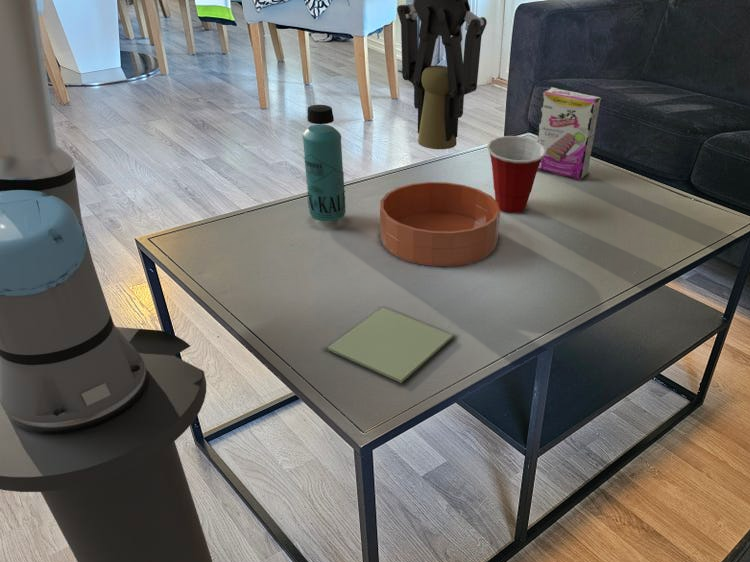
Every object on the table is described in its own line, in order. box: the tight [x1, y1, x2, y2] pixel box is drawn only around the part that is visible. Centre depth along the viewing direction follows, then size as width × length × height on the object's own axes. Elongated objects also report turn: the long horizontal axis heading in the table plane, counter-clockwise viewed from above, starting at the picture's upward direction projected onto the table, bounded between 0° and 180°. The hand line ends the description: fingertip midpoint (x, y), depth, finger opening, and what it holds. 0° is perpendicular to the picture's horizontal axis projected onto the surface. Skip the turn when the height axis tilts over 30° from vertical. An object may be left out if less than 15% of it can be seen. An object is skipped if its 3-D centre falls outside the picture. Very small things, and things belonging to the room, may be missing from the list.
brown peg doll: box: [417, 64, 457, 150], centre depth 97 cm, size 6×6×11 cm
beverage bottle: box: [301, 104, 347, 222], centre depth 109 cm, size 6×7×20 cm
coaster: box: [327, 307, 454, 384], centre depth 88 cm, size 12×12×1 cm
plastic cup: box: [486, 135, 546, 214], centre depth 121 cm, size 11×11×12 cm
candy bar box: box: [536, 86, 602, 181], centre depth 136 cm, size 11×5×16 cm, turn 65°
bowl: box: [379, 181, 501, 267], centre depth 111 cm, size 20×20×6 cm
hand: (437, 134), depth 100 cm, fingers closed on brown peg doll, 4 cm apart
